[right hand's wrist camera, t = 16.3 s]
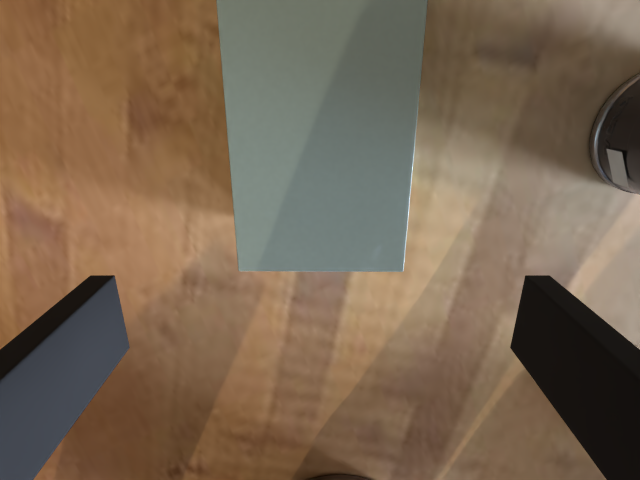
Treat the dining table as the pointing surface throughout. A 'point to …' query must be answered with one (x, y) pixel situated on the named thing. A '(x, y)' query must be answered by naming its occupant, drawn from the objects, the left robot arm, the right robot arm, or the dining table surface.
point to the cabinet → (321, 130)
